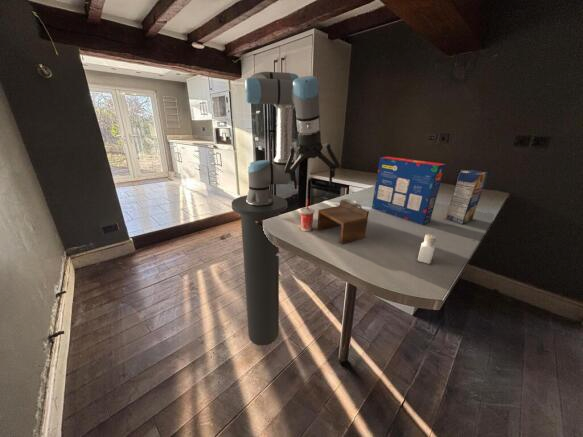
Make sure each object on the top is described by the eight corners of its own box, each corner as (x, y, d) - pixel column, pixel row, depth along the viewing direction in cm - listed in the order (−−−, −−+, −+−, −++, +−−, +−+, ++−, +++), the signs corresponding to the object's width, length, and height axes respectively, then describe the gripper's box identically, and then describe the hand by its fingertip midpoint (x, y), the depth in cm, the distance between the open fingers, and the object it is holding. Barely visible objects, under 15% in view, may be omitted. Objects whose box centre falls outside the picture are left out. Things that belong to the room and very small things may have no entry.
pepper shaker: (417, 261, 80) (423, 237, 77) (418, 256, 84) (424, 232, 80) (430, 265, 78) (437, 240, 75) (430, 259, 82) (437, 235, 78)
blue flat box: (430, 221, 115) (445, 164, 104) (422, 224, 110) (438, 165, 99) (379, 205, 135) (388, 156, 124) (371, 208, 130) (380, 157, 120)
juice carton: (456, 214, 124) (470, 169, 115) (472, 219, 118) (488, 172, 109) (445, 219, 118) (459, 172, 109) (461, 224, 112) (478, 175, 103)
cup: (359, 214, 120) (362, 200, 117) (360, 220, 113) (363, 205, 110) (338, 212, 122) (340, 198, 119) (338, 218, 115) (340, 203, 112)
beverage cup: (297, 227, 104) (298, 197, 99) (309, 225, 106) (311, 196, 101) (302, 232, 99) (304, 201, 94) (315, 230, 101) (317, 200, 96)
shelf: (317, 228, 103) (318, 204, 99) (339, 223, 110) (341, 200, 105) (341, 244, 91) (344, 217, 86) (364, 236, 97) (369, 211, 93)
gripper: (271, 139, 75) (281, 194, 89) (348, 130, 73) (347, 187, 86) (273, 131, 81) (282, 183, 94) (345, 123, 79) (344, 177, 92)
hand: (313, 185), depth 90 cm, fingers open, 13 cm apart
